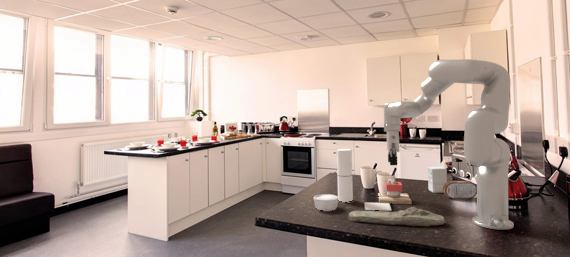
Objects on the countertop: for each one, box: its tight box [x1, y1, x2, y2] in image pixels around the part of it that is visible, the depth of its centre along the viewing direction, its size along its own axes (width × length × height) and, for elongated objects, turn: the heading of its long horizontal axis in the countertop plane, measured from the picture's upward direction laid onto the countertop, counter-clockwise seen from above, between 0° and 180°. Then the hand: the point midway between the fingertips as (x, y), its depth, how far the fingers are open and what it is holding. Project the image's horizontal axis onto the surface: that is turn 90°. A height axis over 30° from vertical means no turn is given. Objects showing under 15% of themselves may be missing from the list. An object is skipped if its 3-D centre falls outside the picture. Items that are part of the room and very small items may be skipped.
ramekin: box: [313, 193, 339, 212], centre depth 141 cm, size 11×11×5 cm
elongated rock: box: [348, 206, 445, 227], centre depth 121 cm, size 35×5×10 cm
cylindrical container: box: [336, 148, 354, 203], centre depth 153 cm, size 7×7×25 cm
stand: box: [377, 180, 413, 205], centre depth 151 cm, size 14×14×9 cm
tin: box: [443, 180, 477, 200], centre depth 150 cm, size 15×3×8 cm, turn 84°
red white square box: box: [385, 181, 403, 192], centre depth 151 cm, size 7×7×3 cm
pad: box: [364, 202, 392, 212], centre depth 140 cm, size 11×11×1 cm
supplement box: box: [427, 166, 448, 194], centre depth 165 cm, size 7×7×13 cm
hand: (392, 163), depth 151 cm, fingers open, 9 cm apart
